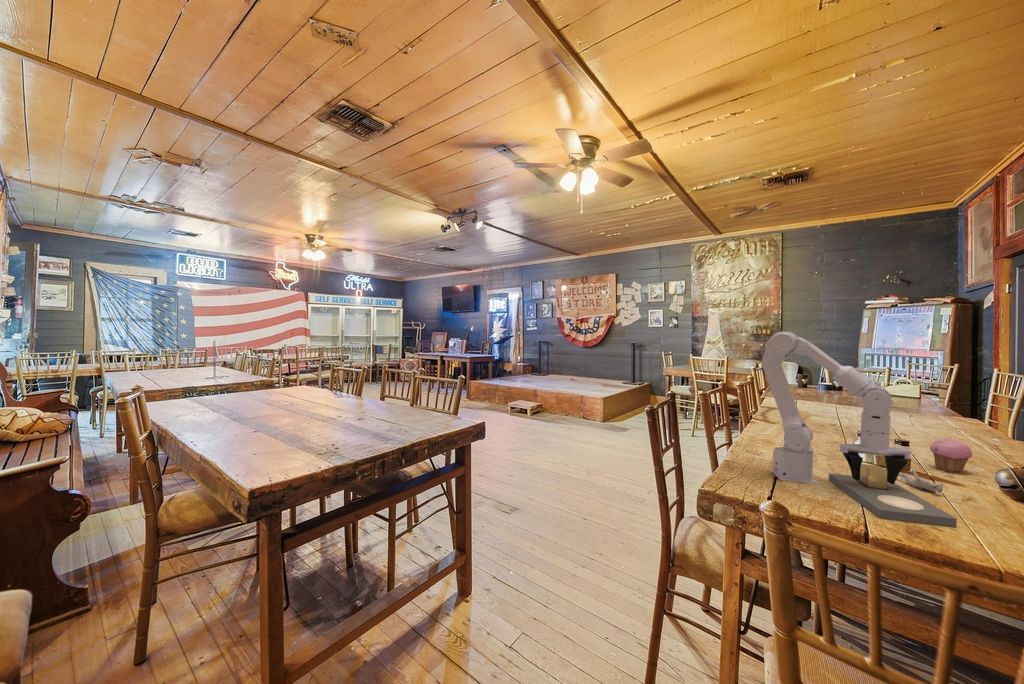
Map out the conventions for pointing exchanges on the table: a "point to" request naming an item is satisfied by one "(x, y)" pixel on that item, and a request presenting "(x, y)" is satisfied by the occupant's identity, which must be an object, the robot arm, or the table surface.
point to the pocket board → (893, 502)
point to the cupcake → (950, 455)
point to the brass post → (873, 477)
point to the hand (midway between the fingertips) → (872, 481)
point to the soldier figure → (921, 482)
